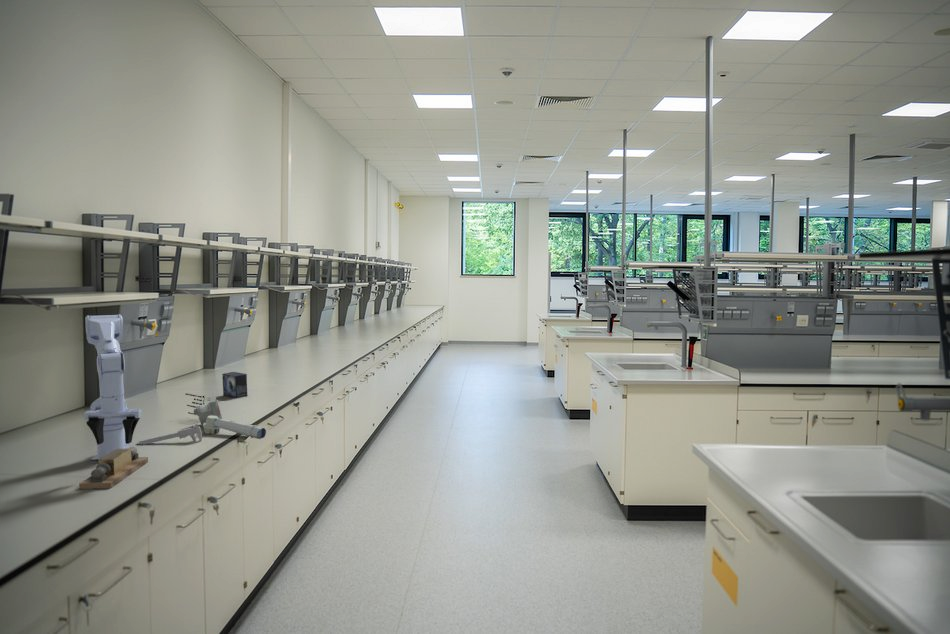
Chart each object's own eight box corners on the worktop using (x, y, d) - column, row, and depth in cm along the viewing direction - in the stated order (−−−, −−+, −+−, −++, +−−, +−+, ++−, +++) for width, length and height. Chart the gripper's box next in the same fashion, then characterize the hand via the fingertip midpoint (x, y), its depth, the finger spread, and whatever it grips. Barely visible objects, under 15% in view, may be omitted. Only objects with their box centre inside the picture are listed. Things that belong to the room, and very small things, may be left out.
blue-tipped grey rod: (257, 429, 205) (200, 413, 213) (256, 448, 206) (199, 431, 214) (268, 425, 210) (211, 410, 218) (266, 444, 211) (210, 428, 219)
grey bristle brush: (235, 424, 227) (234, 398, 226) (207, 431, 218) (206, 404, 217) (193, 415, 241) (192, 390, 241) (165, 421, 232) (164, 395, 231)
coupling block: (117, 463, 176) (116, 448, 175) (131, 463, 176) (131, 448, 176) (99, 475, 166) (98, 459, 165) (114, 475, 166) (113, 459, 166)
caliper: (202, 441, 205) (201, 423, 205) (201, 442, 204) (200, 423, 204) (136, 444, 201) (135, 426, 201) (135, 445, 200) (134, 427, 200)
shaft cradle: (120, 462, 181) (119, 444, 181) (148, 461, 182) (147, 443, 182) (79, 489, 160) (78, 468, 159) (111, 488, 160) (110, 467, 160)
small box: (222, 395, 279) (221, 373, 278) (234, 393, 284) (234, 371, 283) (235, 398, 273) (234, 375, 272) (248, 396, 278) (247, 373, 277)
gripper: (77, 399, 165) (79, 447, 166) (132, 398, 166) (134, 446, 167) (90, 393, 172) (93, 440, 173) (144, 393, 173) (146, 439, 174)
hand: (114, 443), depth 170 cm, fingers open, 7 cm apart
